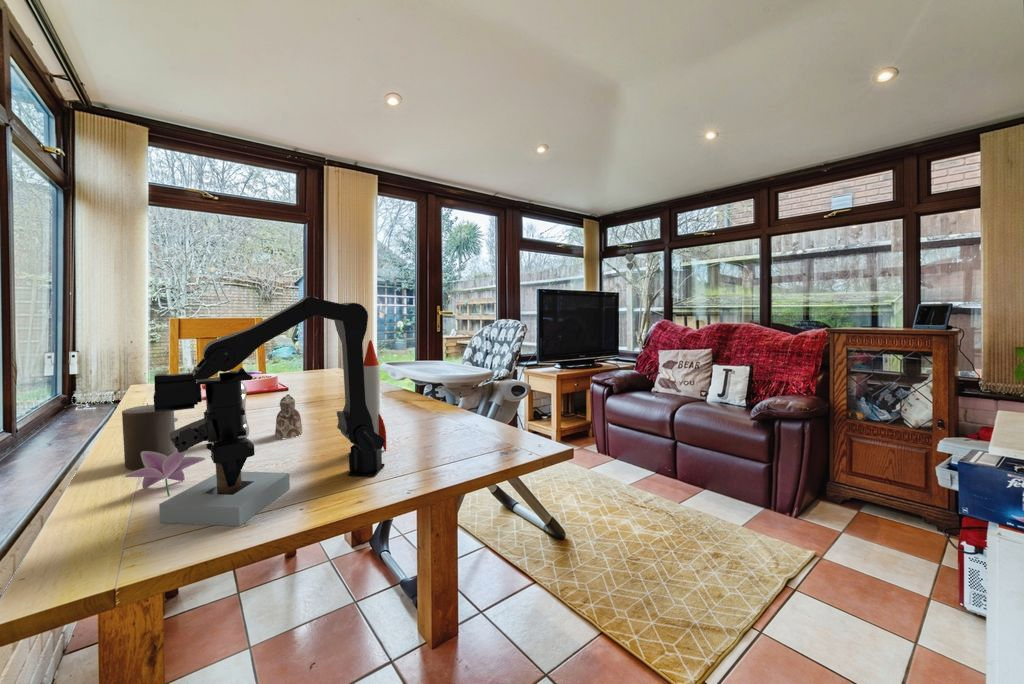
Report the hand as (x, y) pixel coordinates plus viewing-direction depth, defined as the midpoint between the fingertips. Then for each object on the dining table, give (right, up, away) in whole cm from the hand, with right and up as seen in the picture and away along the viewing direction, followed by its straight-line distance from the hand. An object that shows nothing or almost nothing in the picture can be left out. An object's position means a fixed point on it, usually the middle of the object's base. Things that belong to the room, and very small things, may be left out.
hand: (229, 482), depth 82 cm
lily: (-18, -4, +7) cm, 19 cm away
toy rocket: (+18, -2, +31) cm, 36 cm away
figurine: (-11, -1, +43) cm, 45 cm away
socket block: (0, -5, 0) cm, 4 cm away
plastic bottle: (-24, -1, +38) cm, 45 cm away
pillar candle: (-34, -2, +22) cm, 40 cm away
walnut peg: (0, -3, 0) cm, 2 cm away
